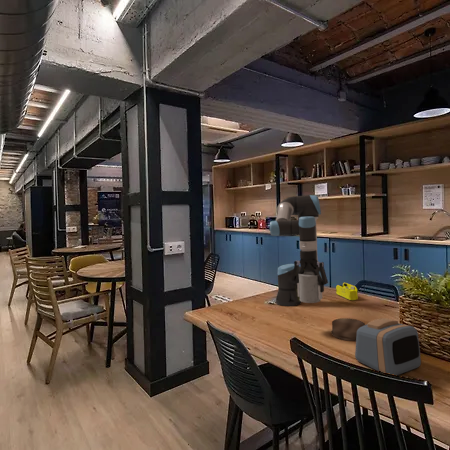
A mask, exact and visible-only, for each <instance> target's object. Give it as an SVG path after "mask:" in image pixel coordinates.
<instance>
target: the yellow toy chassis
mask: <svg viewBox="0 0 450 450" xmlns="http://www.w3.org/2000/svg"><path fill="white" fill-rule="evenodd" d="M335 293H336V295H338V296H340V297H343V299H347V300H350V301H356V300H359V299H358V298H359V297H358V288H357V287H356V286H355V285H352V284H351V283H347V282H343V283H342V285H339V284H337V285H336V287H335Z"/></svg>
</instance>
